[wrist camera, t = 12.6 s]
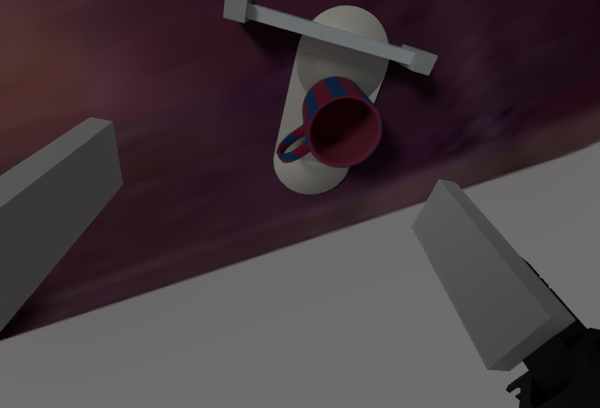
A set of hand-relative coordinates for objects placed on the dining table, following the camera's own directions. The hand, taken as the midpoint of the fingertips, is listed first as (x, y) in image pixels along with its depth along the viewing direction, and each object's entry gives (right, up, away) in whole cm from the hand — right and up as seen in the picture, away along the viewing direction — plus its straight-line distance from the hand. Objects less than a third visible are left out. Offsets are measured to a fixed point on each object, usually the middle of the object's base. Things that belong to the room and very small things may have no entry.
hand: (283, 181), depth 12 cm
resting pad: (+3, +9, +19) cm, 22 cm away
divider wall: (+3, +15, +15) cm, 21 cm away
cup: (+3, +9, +19) cm, 21 cm away
